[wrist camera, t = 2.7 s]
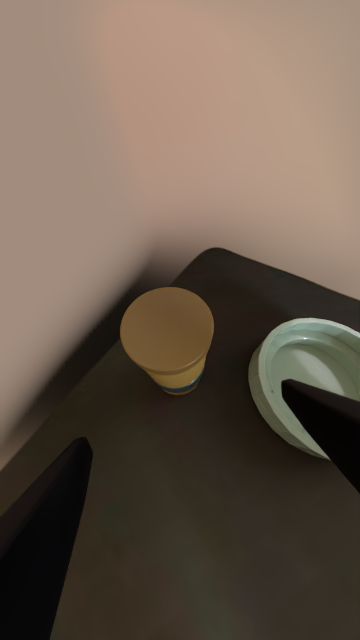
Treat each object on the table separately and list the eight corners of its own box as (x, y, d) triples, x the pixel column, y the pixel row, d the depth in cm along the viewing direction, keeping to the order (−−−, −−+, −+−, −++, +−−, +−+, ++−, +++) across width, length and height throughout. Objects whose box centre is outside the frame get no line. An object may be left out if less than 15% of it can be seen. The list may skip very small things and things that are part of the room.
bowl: (373, 489, 16) (427, 510, 12) (231, 413, 19) (240, 412, 16) (374, 360, 21) (411, 348, 18) (263, 319, 25) (275, 302, 21)
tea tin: (189, 406, 20) (188, 391, 9) (145, 381, 22) (100, 343, 11) (210, 359, 23) (228, 304, 12) (169, 340, 24) (151, 276, 13)
